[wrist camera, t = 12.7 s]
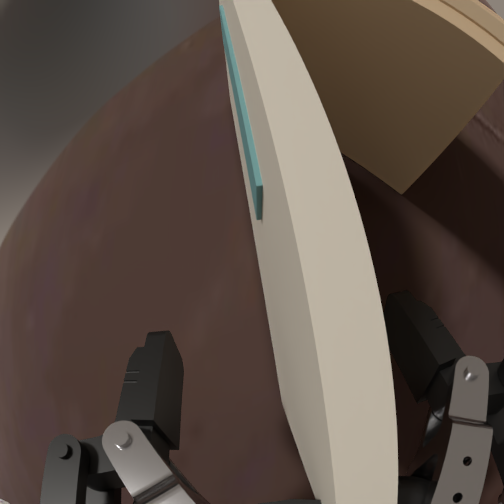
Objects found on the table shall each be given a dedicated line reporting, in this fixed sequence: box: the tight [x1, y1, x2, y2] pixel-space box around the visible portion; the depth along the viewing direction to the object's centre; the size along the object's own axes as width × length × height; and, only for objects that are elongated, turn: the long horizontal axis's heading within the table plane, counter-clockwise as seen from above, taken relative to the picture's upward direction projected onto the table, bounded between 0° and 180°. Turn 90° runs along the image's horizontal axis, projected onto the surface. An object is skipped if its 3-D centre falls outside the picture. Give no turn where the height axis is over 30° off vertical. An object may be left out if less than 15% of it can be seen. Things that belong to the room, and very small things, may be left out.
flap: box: [219, 0, 398, 504], centre depth 11 cm, size 21×1×13 cm, turn 9°
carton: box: [271, 0, 504, 195], centre depth 14 cm, size 14×10×13 cm
